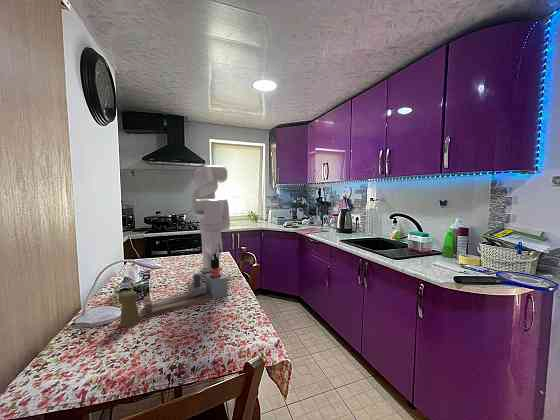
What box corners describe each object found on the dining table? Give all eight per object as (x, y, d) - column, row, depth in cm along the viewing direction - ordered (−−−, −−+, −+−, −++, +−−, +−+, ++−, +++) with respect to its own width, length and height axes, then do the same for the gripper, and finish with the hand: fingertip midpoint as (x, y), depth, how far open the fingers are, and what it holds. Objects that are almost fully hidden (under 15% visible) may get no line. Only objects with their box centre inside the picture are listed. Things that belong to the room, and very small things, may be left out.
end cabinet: (205, 291, 108) (204, 274, 107) (220, 287, 112) (219, 271, 111) (212, 299, 99) (211, 281, 99) (227, 294, 103) (227, 277, 103)
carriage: (188, 292, 102) (187, 273, 101) (202, 289, 105) (201, 271, 105) (192, 298, 96) (191, 278, 95) (206, 294, 99) (205, 275, 99)
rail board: (144, 306, 94) (143, 296, 94) (204, 291, 107) (203, 282, 107) (146, 317, 86) (145, 306, 85) (211, 299, 99) (210, 289, 99)
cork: (118, 329, 79) (116, 297, 78) (121, 320, 84) (119, 291, 83) (139, 324, 82) (137, 293, 81) (140, 316, 87) (138, 287, 86)
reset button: (208, 276, 106) (208, 268, 105) (219, 274, 108) (218, 266, 108) (211, 279, 101) (211, 271, 101) (222, 277, 104) (222, 269, 104)
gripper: (200, 226, 107) (202, 265, 108) (210, 230, 95) (212, 274, 96) (216, 224, 111) (217, 262, 113) (227, 228, 99) (229, 270, 100)
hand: (215, 267), depth 104 cm, fingers closed
